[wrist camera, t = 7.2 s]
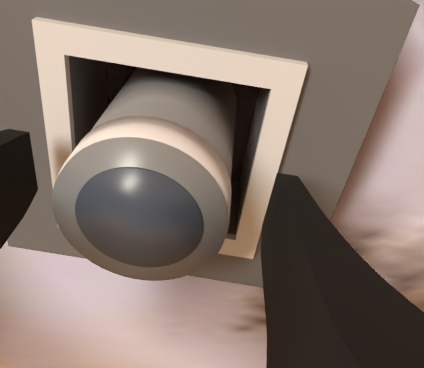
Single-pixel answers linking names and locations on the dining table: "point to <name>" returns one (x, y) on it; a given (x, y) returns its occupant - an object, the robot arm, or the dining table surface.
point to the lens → (152, 178)
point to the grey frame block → (211, 69)
